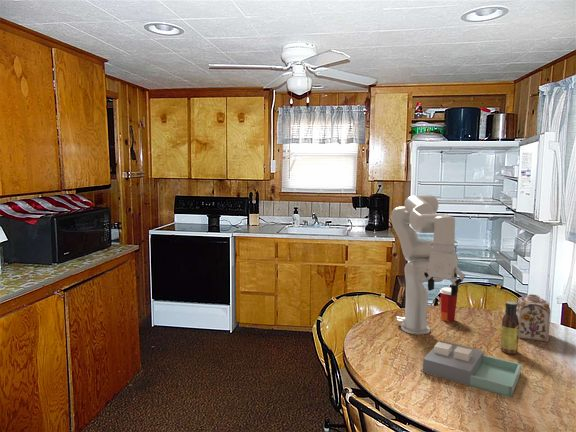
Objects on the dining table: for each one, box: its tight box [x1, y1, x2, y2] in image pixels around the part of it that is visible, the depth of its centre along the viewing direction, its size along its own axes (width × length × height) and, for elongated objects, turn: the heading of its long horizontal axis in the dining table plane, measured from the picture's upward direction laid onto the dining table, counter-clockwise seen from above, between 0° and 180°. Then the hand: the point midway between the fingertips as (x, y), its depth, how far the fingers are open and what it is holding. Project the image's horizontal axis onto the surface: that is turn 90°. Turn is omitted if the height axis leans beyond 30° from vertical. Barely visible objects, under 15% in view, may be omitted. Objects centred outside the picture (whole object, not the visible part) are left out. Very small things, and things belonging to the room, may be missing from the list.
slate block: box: [422, 340, 485, 387], centre depth 156 cm, size 16×20×5 cm
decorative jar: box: [515, 293, 551, 343], centre depth 186 cm, size 12×12×18 cm
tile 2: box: [454, 346, 472, 361], centre depth 153 cm, size 5×5×2 cm
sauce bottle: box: [500, 301, 520, 355], centre depth 169 cm, size 7×6×20 cm
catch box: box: [469, 354, 522, 398], centre depth 147 cm, size 12×20×4 cm, turn 144°
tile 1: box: [433, 341, 452, 356], centre depth 157 cm, size 5×5×2 cm
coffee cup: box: [439, 287, 459, 323], centre depth 205 cm, size 8×8×15 cm
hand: (442, 292), depth 163 cm, fingers open, 9 cm apart
